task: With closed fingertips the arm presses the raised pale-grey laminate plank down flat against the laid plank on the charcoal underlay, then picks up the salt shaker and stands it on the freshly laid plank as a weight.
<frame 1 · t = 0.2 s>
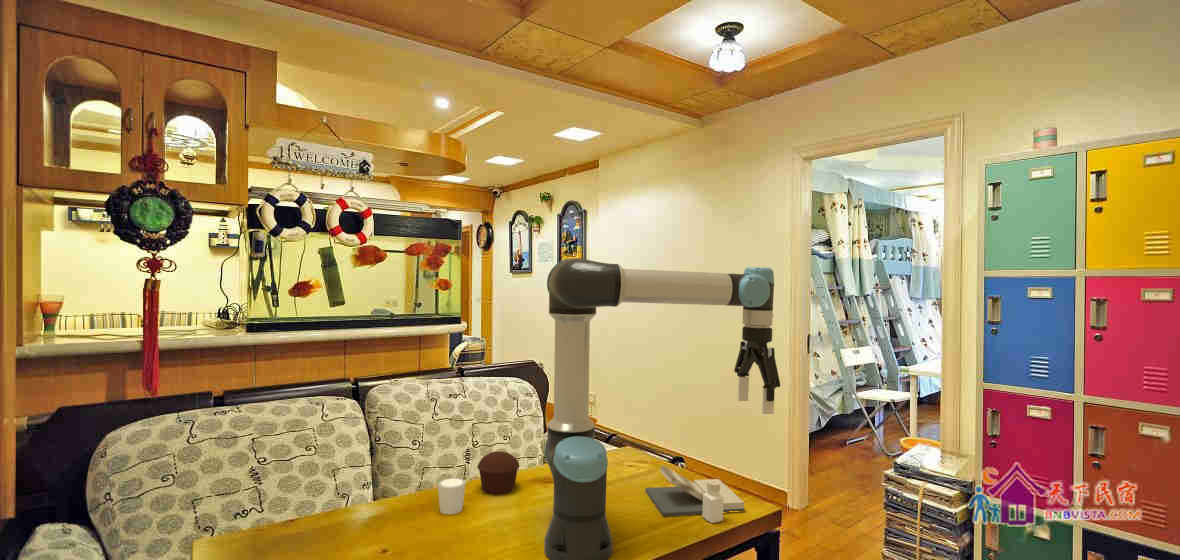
hand: (754, 407, 142), 27 cm above the table, fingers open, 13 cm apart
white tapered cylinder: (451, 510, 138), on the table
salt shaker: (712, 520, 136), on the table
muffin: (498, 489, 152), on the table
underlay: (692, 501, 147), on the table
plank: (684, 483, 146), point 5 cm above the table, hinge at 30.0°
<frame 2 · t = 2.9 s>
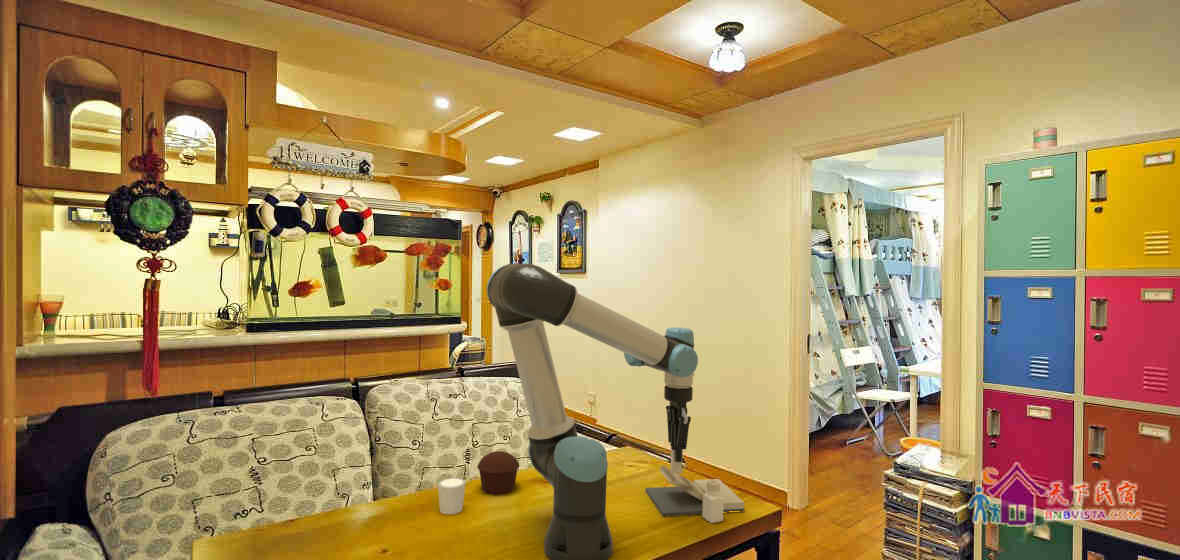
hand: (676, 472, 146), 8 cm above the table, fingers closed
plank: (684, 483, 146), point 5 cm above the table, hinge at 29.7°, touching gripper
everything else where it was.
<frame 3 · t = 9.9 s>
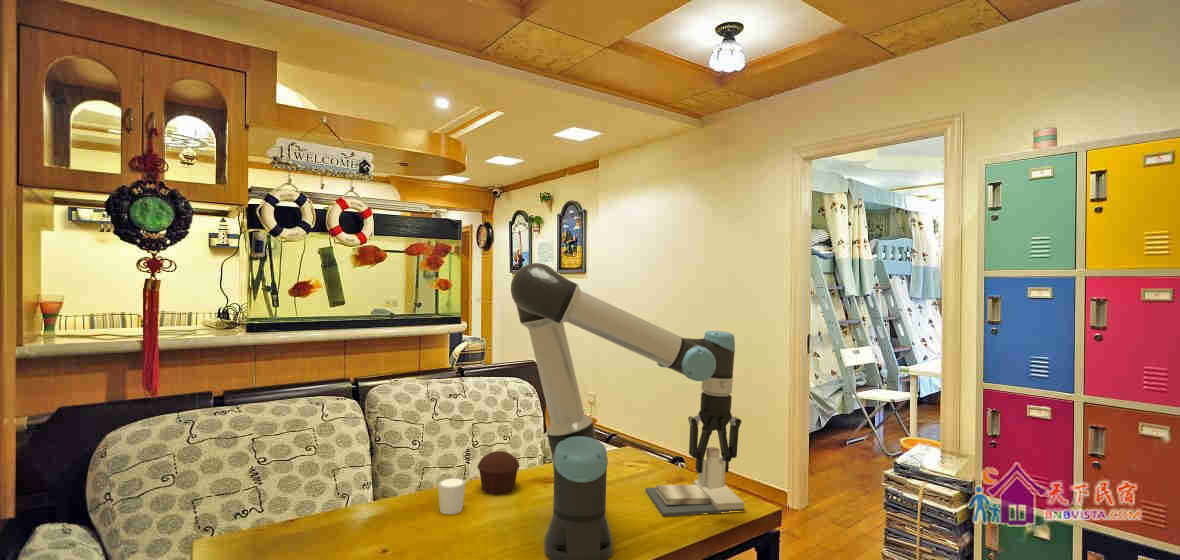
hand: (711, 484, 136), 9 cm above the table, fingers closed on salt shaker, 4 cm apart
salt shaker: (710, 487, 136), point 8 cm above the table, touching gripper
plank: (682, 494, 146), point 2 cm above the table, hinge at 2.3°
everything else where it was.
when the fingers open (3 cm above the table, at t = 13.4 s): salt shaker stays where it is, resting on plank.
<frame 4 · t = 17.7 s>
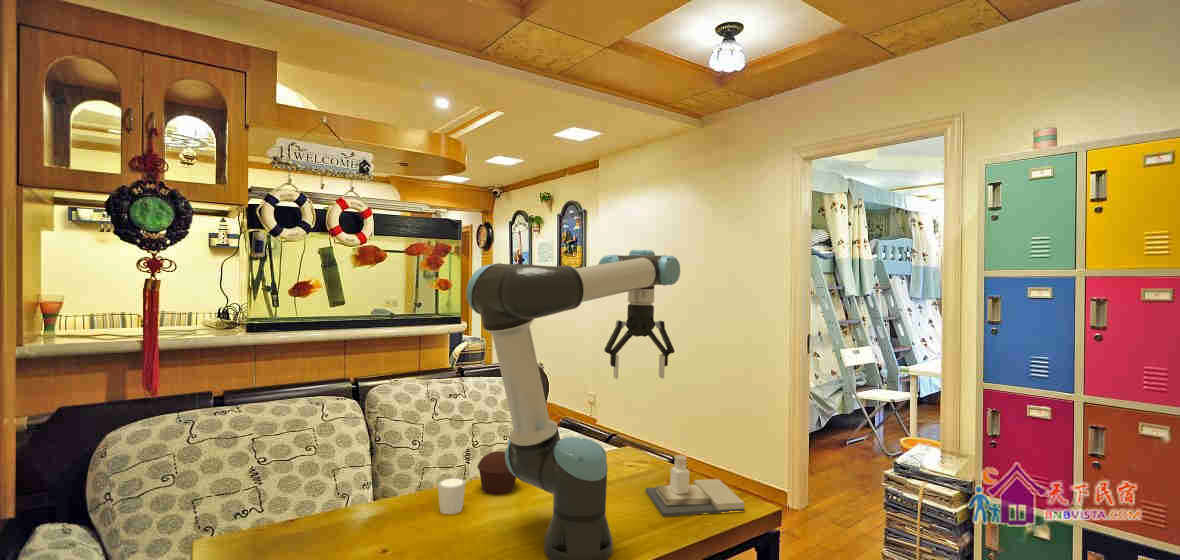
hand: (638, 377, 155), 32 cm above the table, fingers open, 13 cm apart
salt shaker: (678, 492, 146), point 3 cm above the table, touching plank
plank: (682, 494, 146), point 2 cm above the table, hinge at 1.4°, touching salt shaker
everything else where it was.
at the end: plank at +1° (first picture: +30°); salt shaker inside the target area (1.0 cm from its centre), point 2.6 cm above the table; salt shaker tilted 1° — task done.
